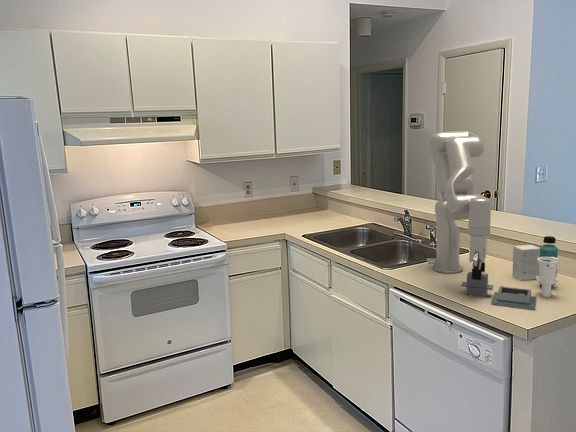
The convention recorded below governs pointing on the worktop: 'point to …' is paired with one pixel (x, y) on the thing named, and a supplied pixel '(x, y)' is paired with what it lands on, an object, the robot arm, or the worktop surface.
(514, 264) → the small box
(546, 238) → the beverage bottle
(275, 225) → the worktop surface
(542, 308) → the worktop surface
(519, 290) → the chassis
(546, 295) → the clear white hollow cylinder
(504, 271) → the worktop surface
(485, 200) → the robot arm
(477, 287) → the lever
